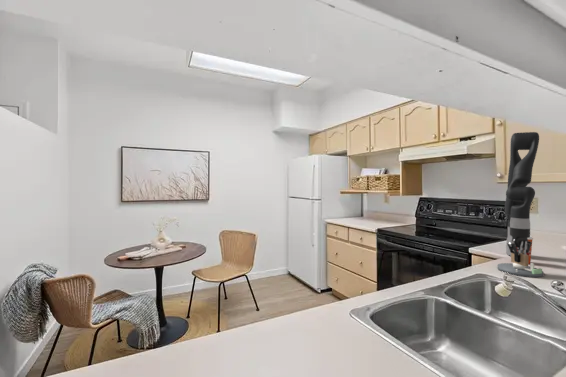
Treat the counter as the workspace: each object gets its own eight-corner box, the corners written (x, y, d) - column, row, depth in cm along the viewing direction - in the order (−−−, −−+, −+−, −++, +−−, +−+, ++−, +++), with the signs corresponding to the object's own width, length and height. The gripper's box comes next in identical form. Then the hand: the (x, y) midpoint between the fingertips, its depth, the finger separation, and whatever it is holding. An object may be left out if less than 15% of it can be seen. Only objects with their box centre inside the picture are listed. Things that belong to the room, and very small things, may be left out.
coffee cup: (528, 265, 140) (529, 237, 140) (509, 261, 148) (510, 234, 147) (536, 263, 144) (536, 235, 144) (517, 259, 151) (517, 233, 151)
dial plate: (501, 264, 143) (501, 257, 143) (545, 271, 131) (545, 264, 130) (493, 271, 132) (493, 264, 132) (541, 280, 120) (541, 272, 119)
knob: (508, 265, 135) (508, 251, 135) (517, 265, 135) (517, 251, 135) (528, 272, 125) (528, 257, 125) (538, 272, 125) (538, 256, 125)
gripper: (518, 229, 126) (517, 265, 126) (538, 227, 129) (538, 262, 130) (501, 226, 133) (501, 260, 133) (521, 225, 136) (521, 258, 137)
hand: (519, 261), depth 131 cm, fingers closed on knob, 2 cm apart
